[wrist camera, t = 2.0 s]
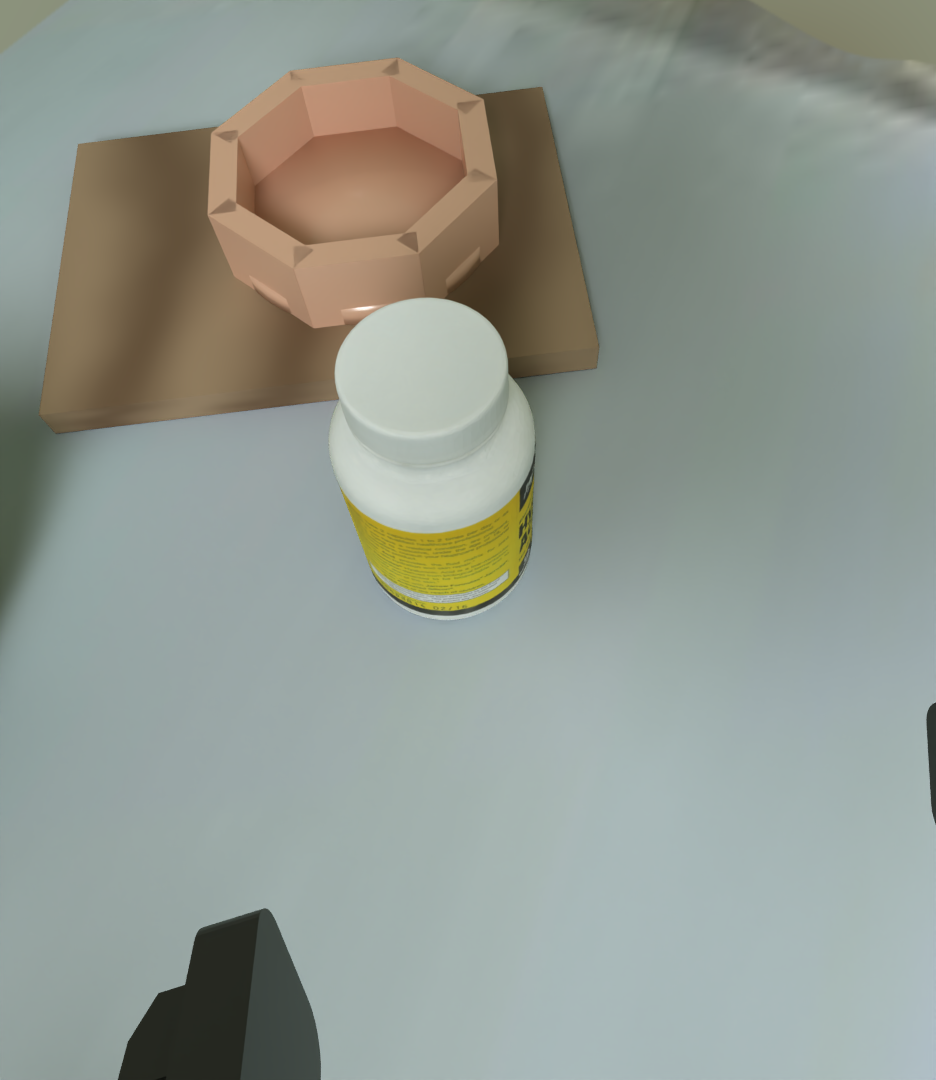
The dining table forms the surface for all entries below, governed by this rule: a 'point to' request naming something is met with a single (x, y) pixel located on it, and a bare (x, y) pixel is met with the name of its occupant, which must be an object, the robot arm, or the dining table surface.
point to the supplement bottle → (434, 456)
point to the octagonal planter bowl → (354, 189)
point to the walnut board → (245, 316)
